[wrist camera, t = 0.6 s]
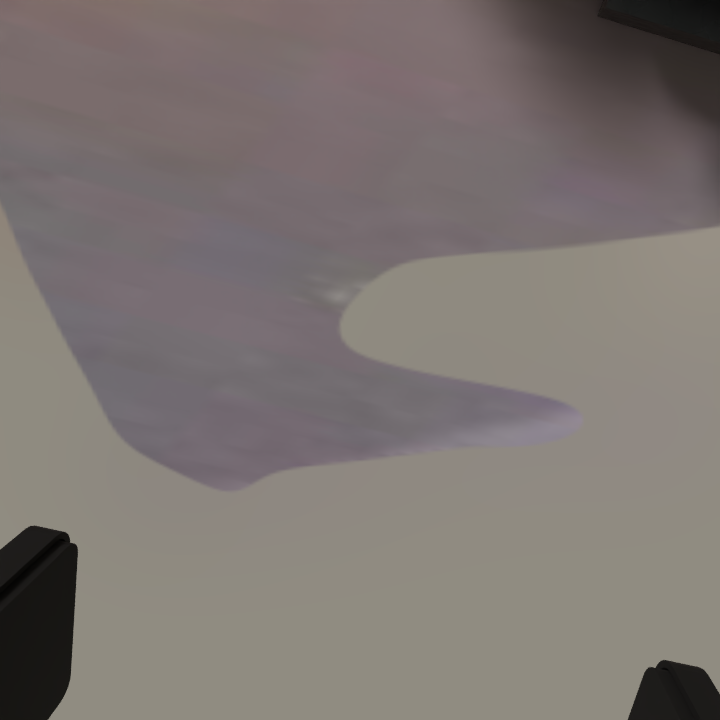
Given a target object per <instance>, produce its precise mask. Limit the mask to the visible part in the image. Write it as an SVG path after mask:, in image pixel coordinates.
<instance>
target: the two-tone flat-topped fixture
mask: <svg viewBox="0 0 720 720" xmlns="http://www.w3.org/2000/svg"><path fill="white" fill-rule="evenodd" d="M598 16H599V17H602V18H605V19H609V20H612V21H615V22H618V23H622V24H625V25H628V26H631V27H634V28H638V29H641V30H644V31H647V32H651V33H654V34H657V35H660V36H663V37H667V38H670V39H673V40H676V41H680V42H683V43H686V44H689V45H692V46H696V47H699V48H702V49H705V50H709V51H712V52H715V53H718V54H720V0H604V1H603V3H602V6H601V9H600V11H599V14H598Z"/></svg>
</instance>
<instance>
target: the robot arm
mask: <svg viewBox="0 0 720 720" xmlns="http://www.w3.org/2000/svg"><path fill="white" fill-rule="evenodd" d="M77 557H78V549H77V546H76V544H73V543H70V538H69V535H68V534H67V533H66V532H62V531H57V530H53V529H48V528H43V527H39V526H30V527H28V528H26V529H25V530H24V531H22V532H21V533H20V534H19V535H18V536H16V537H15V538H14V539H13V540H12V541H10V542H9V543H8V544H7V545H5V546H4V547H3V548H2V549H1V550H0V720H48V719H49V717H50V716H51V714H52V713H53V712H54V710H55V709H56V708H57V706H58V705H59V703H60V702H61V700H62V699H63V697H64V695H65V693H66V690H67V688H68V685H69V681H70V676H71V660H72V644H73V626H74V609H75V608H74V607H75V592H76V573H77ZM628 720H720V694H719V692H718V691H717V689H716V687H715V686H714V684H713V682H712V681H711V679H710V677H709V676H708V674H707V673H706V672H705V671H704V670H703V669H701V668H699V667H695V666H690V665H686V664H681V663H676V662H672V661H667V660H663V661H660V662H659V663H658V665H657V666H656V668H653V667H650V668H648V669H647V670H646V671H645V673H644V676H643V678H642V681H641V684H640V687H639V690H638V693H637V695H636V698H635V701H634V704H633V707H632V709H631V712H630V715H629V718H628Z"/></svg>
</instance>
